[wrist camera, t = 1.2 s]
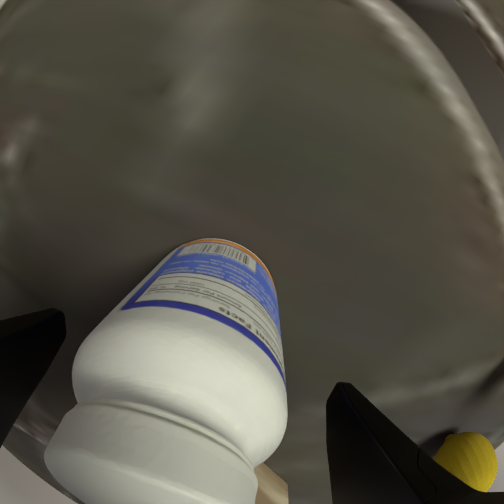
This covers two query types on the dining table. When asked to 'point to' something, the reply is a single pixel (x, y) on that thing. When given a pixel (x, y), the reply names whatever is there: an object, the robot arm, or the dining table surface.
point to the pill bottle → (178, 386)
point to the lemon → (469, 459)
